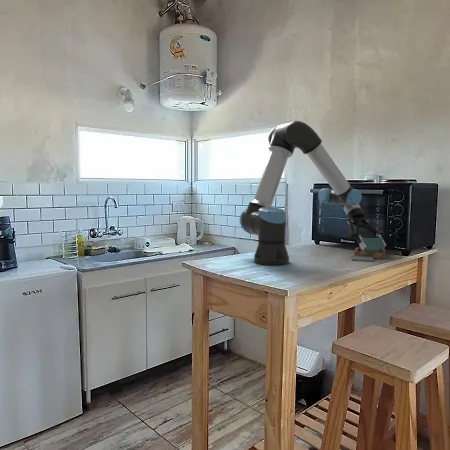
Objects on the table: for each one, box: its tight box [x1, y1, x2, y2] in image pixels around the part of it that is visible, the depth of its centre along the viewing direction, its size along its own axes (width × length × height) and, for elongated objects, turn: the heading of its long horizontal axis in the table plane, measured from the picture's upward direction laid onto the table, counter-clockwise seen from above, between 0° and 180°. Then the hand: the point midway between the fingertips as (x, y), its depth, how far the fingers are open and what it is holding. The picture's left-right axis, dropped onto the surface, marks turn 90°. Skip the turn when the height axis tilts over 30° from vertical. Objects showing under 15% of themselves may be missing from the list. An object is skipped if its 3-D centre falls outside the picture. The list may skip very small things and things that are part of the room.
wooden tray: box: [354, 247, 387, 260], centre depth 192 cm, size 13×13×2 cm
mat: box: [351, 255, 374, 263], centre depth 183 cm, size 9×9×1 cm
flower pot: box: [359, 235, 384, 253], centre depth 192 cm, size 9×9×9 cm
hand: (374, 247), depth 190 cm, fingers closed on flower pot, 11 cm apart
